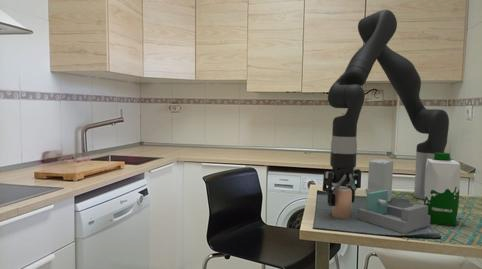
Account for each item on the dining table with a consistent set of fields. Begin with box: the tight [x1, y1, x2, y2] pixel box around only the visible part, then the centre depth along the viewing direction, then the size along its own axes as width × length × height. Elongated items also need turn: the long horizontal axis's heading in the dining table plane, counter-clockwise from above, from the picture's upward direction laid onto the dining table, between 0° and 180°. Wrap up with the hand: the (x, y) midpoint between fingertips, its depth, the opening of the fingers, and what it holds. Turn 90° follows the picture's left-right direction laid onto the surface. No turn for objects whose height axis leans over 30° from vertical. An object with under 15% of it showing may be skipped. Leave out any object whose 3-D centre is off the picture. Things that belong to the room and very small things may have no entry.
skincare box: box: [366, 158, 394, 203], centre depth 127 cm, size 8×6×15 cm
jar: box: [331, 186, 353, 220], centre depth 108 cm, size 6×6×9 cm
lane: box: [356, 203, 431, 235], centre depth 103 cm, size 12×15×6 cm
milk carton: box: [423, 152, 462, 227], centre depth 104 cm, size 9×9×20 cm
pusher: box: [365, 190, 389, 214], centre depth 106 cm, size 9×3×7 cm, turn 124°
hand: (341, 204), depth 108 cm, fingers open, 8 cm apart
